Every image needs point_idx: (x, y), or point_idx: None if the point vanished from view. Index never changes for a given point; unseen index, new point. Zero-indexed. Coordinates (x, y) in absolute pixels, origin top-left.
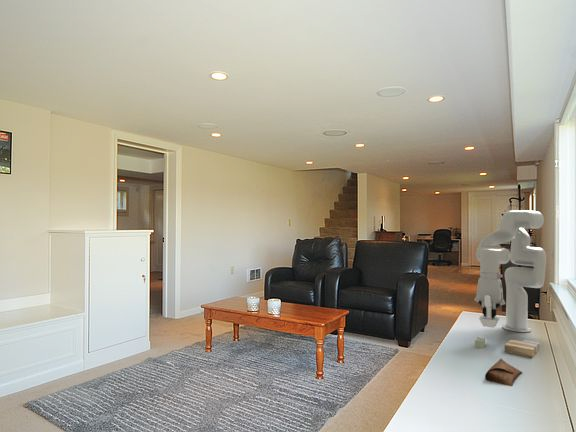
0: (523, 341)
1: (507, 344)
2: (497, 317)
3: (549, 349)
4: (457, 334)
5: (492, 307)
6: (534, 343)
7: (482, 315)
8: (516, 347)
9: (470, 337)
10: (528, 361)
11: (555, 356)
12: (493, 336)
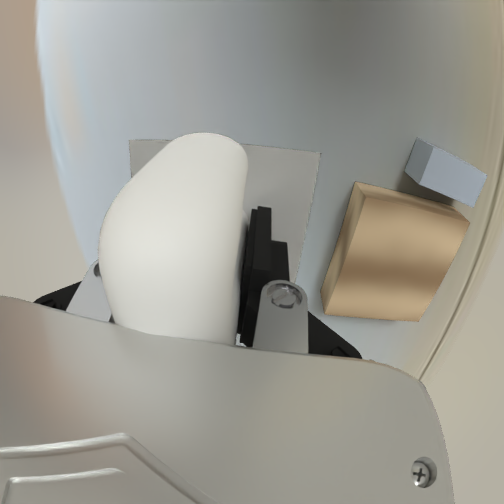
0: (424, 185)
1: (336, 306)
2: (294, 168)
3: (500, 142)
4: (69, 122)
5: (237, 323)
6: (462, 202)
7: (135, 167)
8: (368, 316)
9: (133, 131)
10: (383, 341)
11: (488, 238)
12: (246, 6)
